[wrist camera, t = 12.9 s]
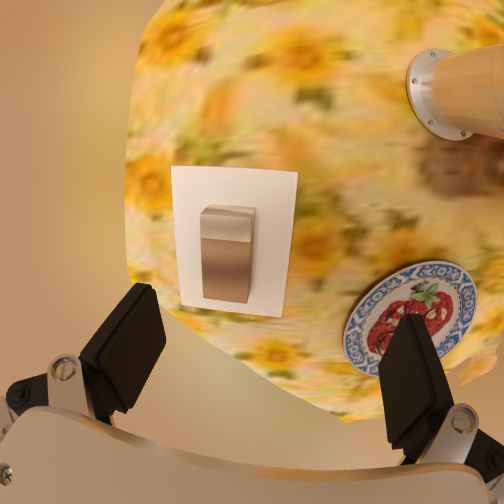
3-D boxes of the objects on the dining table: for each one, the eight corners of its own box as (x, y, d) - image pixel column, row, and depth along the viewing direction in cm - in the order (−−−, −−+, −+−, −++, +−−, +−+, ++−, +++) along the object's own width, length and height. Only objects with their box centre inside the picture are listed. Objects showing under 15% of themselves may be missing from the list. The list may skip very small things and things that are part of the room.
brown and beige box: (250, 287, 40) (246, 303, 37) (210, 282, 41) (203, 298, 37) (255, 207, 35) (251, 218, 31) (209, 203, 35) (199, 214, 32)
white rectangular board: (298, 171, 33) (298, 172, 32) (281, 315, 43) (281, 317, 42) (173, 165, 34) (171, 166, 34) (183, 302, 44) (181, 304, 44)
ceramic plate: (423, 374, 47) (427, 384, 44) (318, 359, 47) (319, 372, 44) (493, 276, 35) (501, 285, 32) (384, 233, 35) (391, 242, 32)
